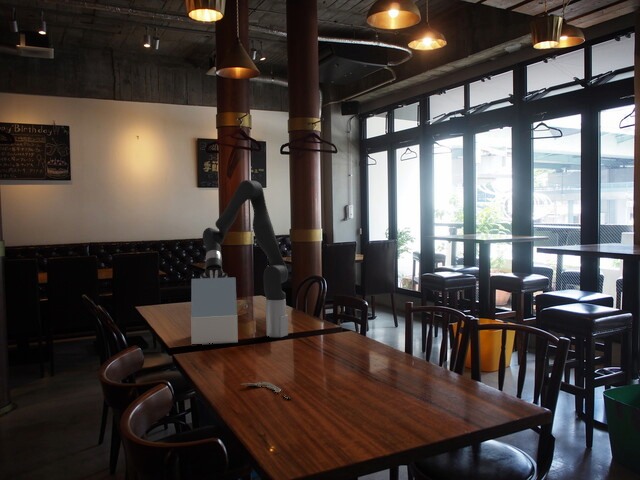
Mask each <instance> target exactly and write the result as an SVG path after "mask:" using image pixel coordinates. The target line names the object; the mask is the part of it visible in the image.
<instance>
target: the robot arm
mask: <svg viewBox="0 0 640 480" xmlns="http://www.w3.org/2000/svg"><path fill="white" fill-rule="evenodd" d="M248 200H249V201H250V203H251V207H252V211H253V218H252V231H253V233H254V237H255V241H256V242H257V244H258V245H259V247H260V248H261V250H262V252H264V254H265V256H266V257H267V260H268V263H269V265H267V267H266V268H265V269H264V272H263V290H264V291H263V292H264V294H265V295H264V296H265V303H266V304H265V310H266V312H265V313H266V314H265V315H266V317H265V318H266V321H265V322H266V336H267V337H268V336H269V337H268V338H283V337H286V336H288V335H289V316H288V314H287V301H286V298H287V296H286V295H287V294H286V292H285V291H283V290H282V284H283V283H286V282H287V280H288V279H289V278H288V277H289V269H288V267H287V264H286V263H285V260H284V258H283V256H282V252H281V250H280V247H279V246H280V245H279V243H278V240H277V237H276V234H275V230H274V226H273V224H272V221H271V218H270V214H269V211H268V207H267V203H266V198H265V193H264V189H263V186H262V184H261V183H260V182H258V181H257V180H253V179H252V180H251V179H246V180H242V181H241V182H240V183H239V185H238V186H237V188H236V190H235V192H234V194H233V196H232V197H231V199H230V200H229V203H228V205H227V206H226V208H225V209H224V210H223V212H222V213H221V215H220V216H219V217H218V219H217V220H216V221H215V227H216V228H217V229H215V228H213V227H207V228H205V229H204V230H203V233H202V241H203V244H204V246H205V253H206V255H205V270H204V273H201V274H199V277H200V278H199V279H202V278H228V273H227V272H224V271H223V259H222V246H221V245H222V244H223V243H224V241H225V238H226V236H227V233H228V231H229V229H231V227H232V225H233V224H234V223H235V221H236V220H237V217H238V214H239V211H240V208H241V207H242V206H243V204H244V203H246V202H247V201H248Z"/></svg>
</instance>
